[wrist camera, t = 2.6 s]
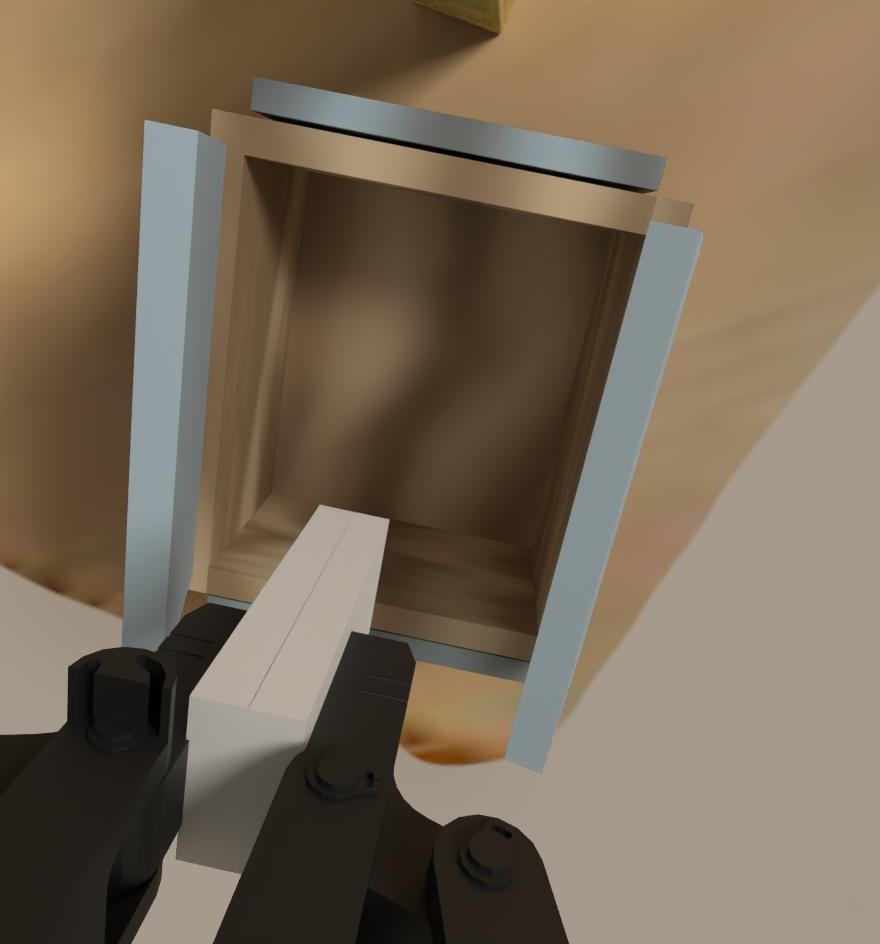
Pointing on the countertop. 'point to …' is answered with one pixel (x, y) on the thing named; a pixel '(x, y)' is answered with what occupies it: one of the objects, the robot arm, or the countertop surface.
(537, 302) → the carton
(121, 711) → the robot arm
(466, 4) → the candy box
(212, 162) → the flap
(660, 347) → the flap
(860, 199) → the countertop surface
